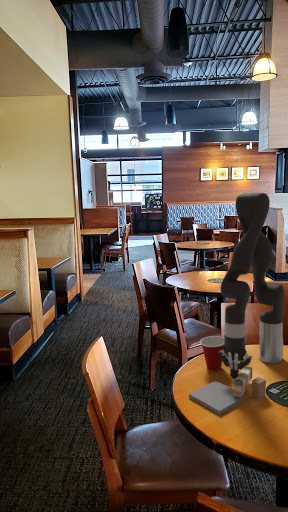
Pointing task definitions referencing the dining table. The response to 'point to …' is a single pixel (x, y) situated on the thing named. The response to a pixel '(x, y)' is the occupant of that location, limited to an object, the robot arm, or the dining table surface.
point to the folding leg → (242, 381)
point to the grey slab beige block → (225, 395)
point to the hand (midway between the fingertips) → (234, 377)
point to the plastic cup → (212, 351)
